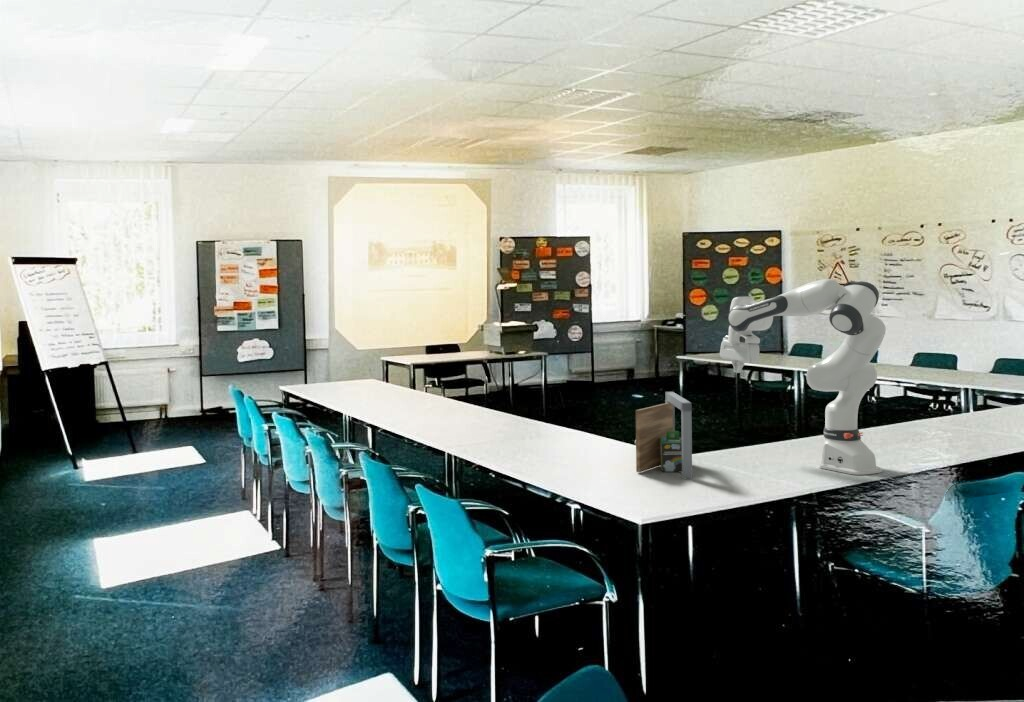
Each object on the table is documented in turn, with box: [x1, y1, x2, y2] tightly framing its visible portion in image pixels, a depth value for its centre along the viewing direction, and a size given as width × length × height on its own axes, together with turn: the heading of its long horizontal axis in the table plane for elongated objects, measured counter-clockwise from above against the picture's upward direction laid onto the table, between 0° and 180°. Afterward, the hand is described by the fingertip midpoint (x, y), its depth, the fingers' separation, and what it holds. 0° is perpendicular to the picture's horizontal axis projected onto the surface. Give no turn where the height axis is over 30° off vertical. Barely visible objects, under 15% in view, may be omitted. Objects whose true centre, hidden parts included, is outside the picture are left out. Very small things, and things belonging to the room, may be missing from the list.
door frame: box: [664, 391, 693, 479], centre depth 304 cm, size 3×32×27 cm, turn 0°
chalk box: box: [660, 430, 682, 473], centre depth 303 cm, size 9×9×15 cm
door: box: [634, 402, 673, 473], centre depth 307 cm, size 3×24×23 cm, turn 138°
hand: (737, 372), depth 320 cm, fingers closed
